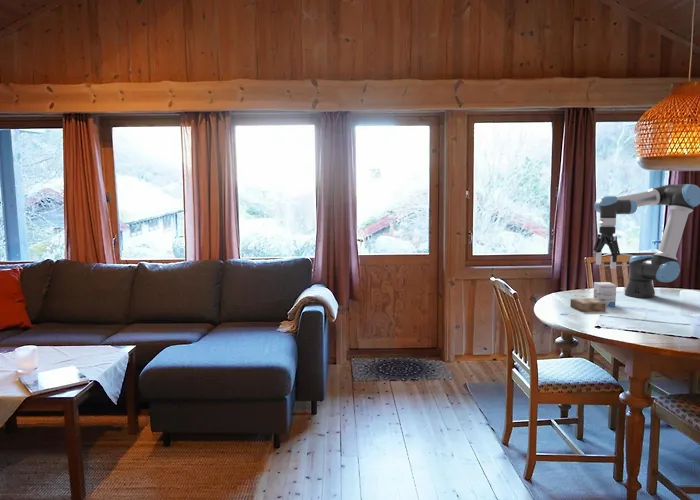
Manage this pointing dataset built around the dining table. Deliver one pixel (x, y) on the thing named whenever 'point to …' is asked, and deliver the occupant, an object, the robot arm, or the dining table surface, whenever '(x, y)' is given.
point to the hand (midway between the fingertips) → (605, 266)
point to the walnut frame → (587, 304)
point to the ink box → (605, 293)
